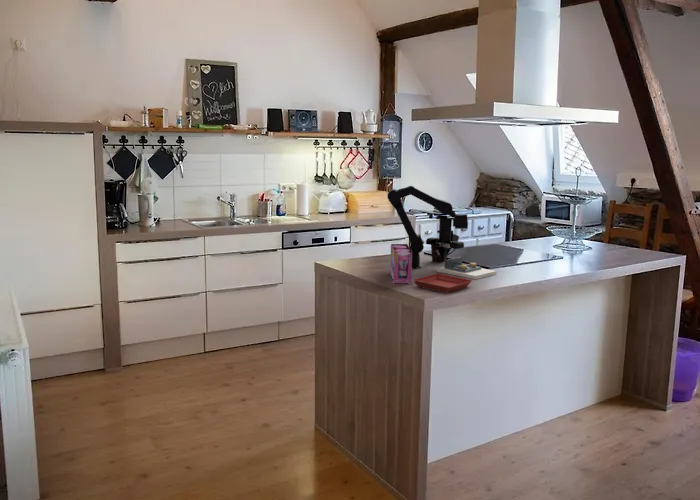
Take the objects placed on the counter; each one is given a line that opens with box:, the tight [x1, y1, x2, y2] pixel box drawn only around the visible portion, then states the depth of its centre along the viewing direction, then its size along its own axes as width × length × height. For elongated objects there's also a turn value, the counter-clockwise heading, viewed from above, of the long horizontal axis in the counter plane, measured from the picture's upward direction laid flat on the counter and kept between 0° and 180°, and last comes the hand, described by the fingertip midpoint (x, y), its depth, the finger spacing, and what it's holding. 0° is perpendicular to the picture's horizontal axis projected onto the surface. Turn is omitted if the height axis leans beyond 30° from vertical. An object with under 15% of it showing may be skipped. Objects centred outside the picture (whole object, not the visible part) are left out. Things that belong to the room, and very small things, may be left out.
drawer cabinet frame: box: [443, 256, 482, 273], centre depth 291 cm, size 12×12×4 cm
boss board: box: [436, 262, 497, 280], centre depth 289 cm, size 16×22×4 cm
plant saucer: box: [412, 273, 473, 293], centre depth 262 cm, size 18×18×3 cm
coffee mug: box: [430, 243, 456, 264], centre depth 314 cm, size 12×9×10 cm
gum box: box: [389, 243, 413, 284], centre depth 276 cm, size 24×8×14 cm, turn 0°
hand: (444, 261), depth 299 cm, fingers closed
